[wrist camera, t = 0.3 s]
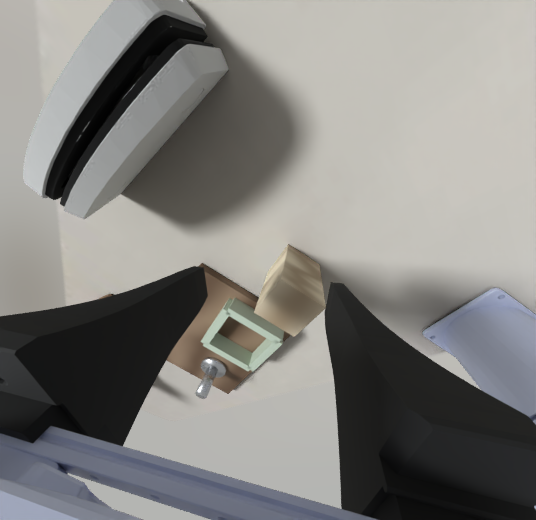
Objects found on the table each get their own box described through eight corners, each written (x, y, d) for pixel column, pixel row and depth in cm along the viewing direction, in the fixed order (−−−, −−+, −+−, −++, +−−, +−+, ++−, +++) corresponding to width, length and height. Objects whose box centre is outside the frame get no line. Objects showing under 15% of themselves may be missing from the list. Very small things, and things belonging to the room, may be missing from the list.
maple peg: (319, 264, 20) (325, 307, 14) (297, 289, 22) (294, 336, 16) (288, 244, 20) (281, 279, 14) (268, 270, 22) (253, 312, 15)
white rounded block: (185, -11, 13) (87, -142, 6) (233, 68, 16) (210, 50, 8) (80, 152, 19) (-31, 192, 12) (127, 189, 22) (59, 240, 15)
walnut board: (298, 322, 24) (297, 328, 23) (230, 387, 33) (228, 393, 32) (202, 263, 23) (197, 267, 22) (158, 348, 32) (154, 353, 31)
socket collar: (286, 328, 24) (284, 341, 22) (254, 359, 27) (251, 373, 25) (231, 295, 23) (225, 306, 21) (206, 331, 26) (199, 343, 25)
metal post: (230, 366, 29) (219, 396, 25) (220, 377, 31) (208, 407, 27) (208, 353, 28) (193, 381, 25) (198, 365, 30) (183, 394, 26)
